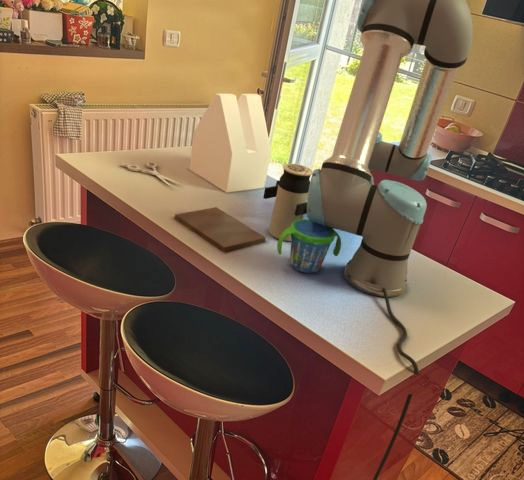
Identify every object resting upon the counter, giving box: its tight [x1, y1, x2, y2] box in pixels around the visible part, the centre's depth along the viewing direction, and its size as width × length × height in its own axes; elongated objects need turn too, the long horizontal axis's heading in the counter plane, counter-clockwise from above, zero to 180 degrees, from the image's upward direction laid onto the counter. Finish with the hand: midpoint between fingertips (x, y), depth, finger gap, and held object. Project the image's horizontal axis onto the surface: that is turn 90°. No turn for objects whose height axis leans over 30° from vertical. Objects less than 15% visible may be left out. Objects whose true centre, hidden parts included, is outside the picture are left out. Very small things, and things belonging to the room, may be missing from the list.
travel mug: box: [268, 163, 313, 242], centre depth 141 cm, size 8×8×18 cm
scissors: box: [120, 161, 180, 187], centre depth 163 cm, size 11×1×20 cm
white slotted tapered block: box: [189, 93, 272, 193], centre depth 166 cm, size 19×15×25 cm
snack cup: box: [276, 218, 342, 274], centre depth 130 cm, size 16×10×10 cm
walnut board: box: [174, 206, 266, 253], centre depth 141 cm, size 20×14×1 cm
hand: (280, 201), depth 137 cm, fingers open, 10 cm apart
